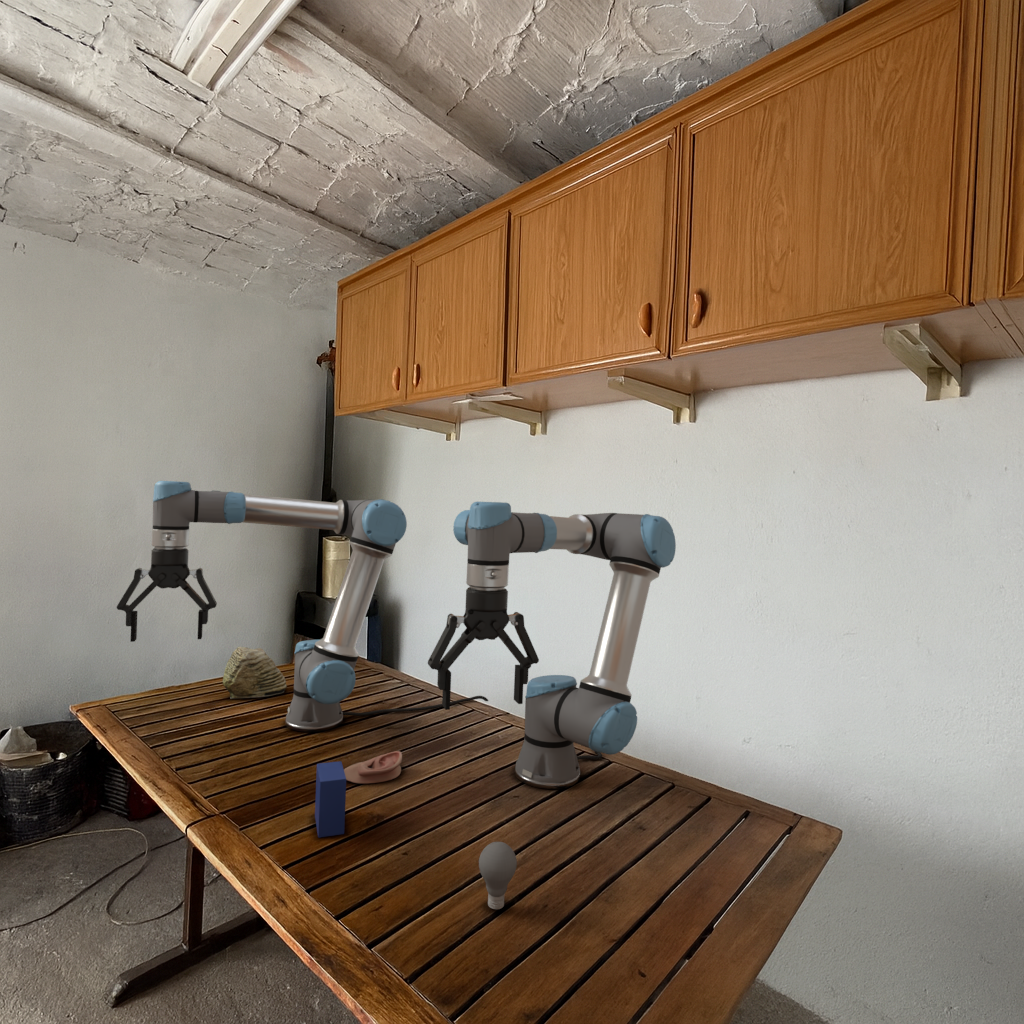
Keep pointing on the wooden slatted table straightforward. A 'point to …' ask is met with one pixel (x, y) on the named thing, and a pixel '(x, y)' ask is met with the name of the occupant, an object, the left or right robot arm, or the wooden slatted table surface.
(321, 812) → the block
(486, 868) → the light bulb
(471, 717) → the wooden slatted table surface
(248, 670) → the fossil
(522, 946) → the wooden slatted table surface
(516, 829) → the wooden slatted table surface
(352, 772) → the anatomical model
